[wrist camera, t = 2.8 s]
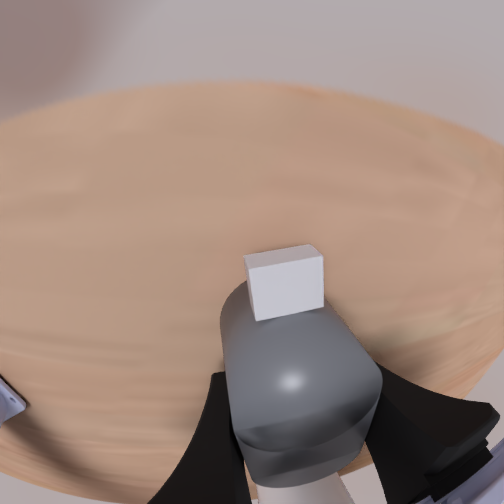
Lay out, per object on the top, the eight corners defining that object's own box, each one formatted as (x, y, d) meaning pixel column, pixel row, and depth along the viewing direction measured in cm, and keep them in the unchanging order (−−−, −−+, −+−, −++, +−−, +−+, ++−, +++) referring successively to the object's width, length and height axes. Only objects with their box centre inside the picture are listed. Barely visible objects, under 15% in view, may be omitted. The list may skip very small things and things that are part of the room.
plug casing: (202, 241, 10) (200, 321, 5) (321, 222, 10) (403, 277, 6) (242, 416, 13) (258, 494, 9) (320, 398, 14) (352, 468, 9)
